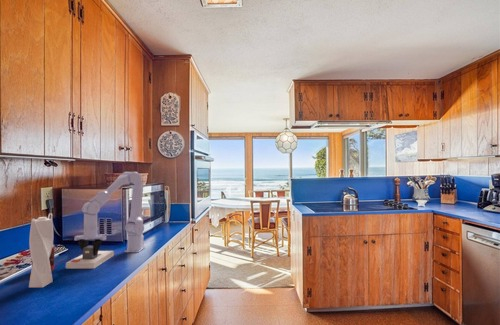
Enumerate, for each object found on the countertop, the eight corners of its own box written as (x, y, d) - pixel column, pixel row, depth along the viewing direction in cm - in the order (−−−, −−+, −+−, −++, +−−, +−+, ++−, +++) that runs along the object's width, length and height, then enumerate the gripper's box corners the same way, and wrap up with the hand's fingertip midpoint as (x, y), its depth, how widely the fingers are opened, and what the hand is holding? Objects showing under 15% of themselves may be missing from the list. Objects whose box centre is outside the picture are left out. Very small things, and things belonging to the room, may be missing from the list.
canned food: (28, 272, 119) (28, 247, 119) (48, 266, 126) (49, 243, 126) (37, 275, 115) (37, 249, 115) (57, 269, 122) (58, 245, 122)
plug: (90, 256, 135) (90, 244, 135) (99, 256, 135) (99, 244, 136) (82, 261, 129) (82, 248, 129) (91, 261, 129) (91, 248, 129)
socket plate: (89, 255, 141) (89, 249, 141) (113, 255, 141) (113, 249, 141) (65, 268, 123) (65, 261, 123) (94, 268, 123) (94, 261, 123)
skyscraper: (58, 280, 110) (59, 211, 111) (45, 288, 103) (46, 214, 103) (38, 280, 110) (39, 211, 111) (23, 288, 102) (24, 215, 103)
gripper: (70, 228, 128) (70, 257, 127) (101, 228, 128) (100, 257, 127) (79, 225, 135) (79, 252, 134) (108, 225, 135) (108, 252, 135)
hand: (90, 254), depth 131 cm, fingers closed on plug, 4 cm apart
